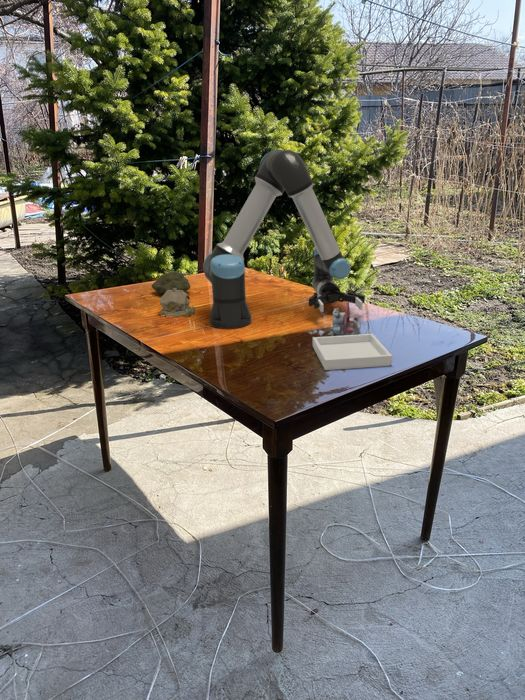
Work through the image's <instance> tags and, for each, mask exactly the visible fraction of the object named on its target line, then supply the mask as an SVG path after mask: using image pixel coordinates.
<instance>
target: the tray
mask: <svg viewBox="0 0 525 700" xmlns="http://www.w3.org/2000/svg"><path fill="white" fill-rule="evenodd" d="M312 349H313V350H314V352H315V354H316V355H317V358H318V360H319V361H320V363H321V365H322V367H323V369H324V371H331V370H347V369H362V368H376V367H391V366H390V365H392V363H393V355H392V354H391V353H390V352H389V351H388V349H387V348H386V347H385V346H384V344H382V343H381V342H380V340H379V339H378V337H376V336H375V334H374V333H366V334H365V333H362V334H360V333H359V334H358V335H344V336H338V335H331V336H316V337H315V336H312Z"/></svg>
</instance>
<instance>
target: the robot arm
mask: <svg viewBox="0 0 525 700" xmlns="http://www.w3.org/2000/svg"><path fill="white" fill-rule="evenodd" d="M254 181H255V185H254V186H253V189H252V191H251V192H250V194H249V195H248V197H247V200H246V201H245V203H244V204H243V206H242V208H241V209H240V212H239V213H238V215H237V217H236V219H235V220H234V221H233V224H232V226H231V227H230V228H229V231H228V232H227V234H226V236H225V238H224V240H223V241H221V242H219V243H216V245H215V246H214V249H213V251H212V252H211V253H209V254H208V255H207V256H206V257H205V259H204V262H203V265H202V269H203V273H204V276H205V278H206V279H207V280H208V282H209V283H211V289H212V306H211V309H210V314H209V325H210V326H211V325H212V327H213V326H214V328H218V329H225V330H226V329H227V330H228V329H237V328H238V329H239V328H243V327H246V326H248V324H249V325H250V324H251V323H252V321H253V319H252V314H251V310H250V309H249V305H248V302H247V297H246V294H247V293H246V276H245V275H246V274H245V273H246V267H245V262H244V261H245V258H244V253H245V251H246V250H247V248H248V246H249V244H250V243H251V241H252V239H253V237H254V236H255V234H256V232H257V231H258V229H259V227H260V226H261V224H262V222H263V220H264V218H265V217H266V215H267V213H268V212H269V210H270V208H271V206H272V204H273V203H274V201H275V199H276V197H279V196H280V197H281V196H283V193H284V192H286V194H287V197H289V198H292V200H293V202H294V204H295V206H296V209H297V210H298V213H299V215H300V217H301V219H302V222H303V223H304V226H305V227H306V230H307V231H308V234H309V236H310V239H311V240H312V242H313V245H314V248H313V250H314V251H313V279H312V281H311V284H312V288H313V291H315V292H313V295H312V296H310V297H309V299H308V307H312V306H313V309H315V310H316V309H319V311H320V313H324V312H325V311H324V309H325V308H324V304H334V303H336V302H340V303H343V302H346V303H347V301H348V302H349V304H350V303H351V304H355V306H356V308H358V309H359V310H360V311H361V310H362V311H363V304H365V297H366V296H365V295H362V294H359V293H357V292H356V293H355V292H352V291H350V290H346V292H344V291H341V289H340V288H339V286H337V284H336V283H335V282H334V279H337V280H343V279H345V278H348V276H349V274H350V272H351V268H352V267H351V264H350V262H349V261H348V260H347V259H346V258H344V256H343V253H342V251H341V250H340V247H339V245H338V243H337V241H336V239H335V236H334V234H333V232H332V230H331V229H332V228H331V227H330V225H329V223H328V221H327V218H326V216H325V213H324V211H323V210H322V207H321V204H320V202H319V200H318V197H317V195H316V194H315V191H314V189H313V186H314V182H313V179H312V177H311V175H310V172H309V171H308V168H307V166H306V164H305V162H304V160H303V158H302V157H301V156H300V155H299V154H298V153H297V152H296V151H294V150H292V149H274V150H271V151H269V152H267V153H266V154H265V155H264V156H263V157H262V158H261V160H260V163H259V168H258V171H257V173H256V175H255V176H254Z"/></svg>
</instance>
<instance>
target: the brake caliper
mask: <svg viewBox="0 0 525 700" xmlns="http://www.w3.org/2000/svg"><path fill="white" fill-rule="evenodd" d="M350 315H351V313H350V302H348V301H347V302H346V304H345V311H344V312H340V309H339V307H337V308H333V311H332V319H331V320H332V326H333V327H330V328H329V329H330V331H332V332H333V333H334V334H335V335H336V336H344V335H360V331H361V327H362V326H361V323H360V319H359V317H358V315H357V316H354V319H353V320H352V319H351V320H350V318H351V316H350Z"/></svg>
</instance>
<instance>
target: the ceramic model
mask: <svg viewBox="0 0 525 700" xmlns="http://www.w3.org/2000/svg"><path fill="white" fill-rule="evenodd" d="M190 299H191V298H190V296H189V294H188V293H187V292H186V291H185V292H184V291H183V290H177V288H173V290H167V291H166V292H165V293H163V295H161V297H160V299H159V301H160V302H159V305H160V306H161V307H162V308H161V310H159V315H160V314H162V315H165V316H187V315H191V316H193V315H194V314H195V313H194V312H195V310H196V307H195V306H190V303H191V302H190V301H191V300H190ZM193 313H194V314H193ZM192 314H193V315H192ZM187 317H188V316H187Z"/></svg>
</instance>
